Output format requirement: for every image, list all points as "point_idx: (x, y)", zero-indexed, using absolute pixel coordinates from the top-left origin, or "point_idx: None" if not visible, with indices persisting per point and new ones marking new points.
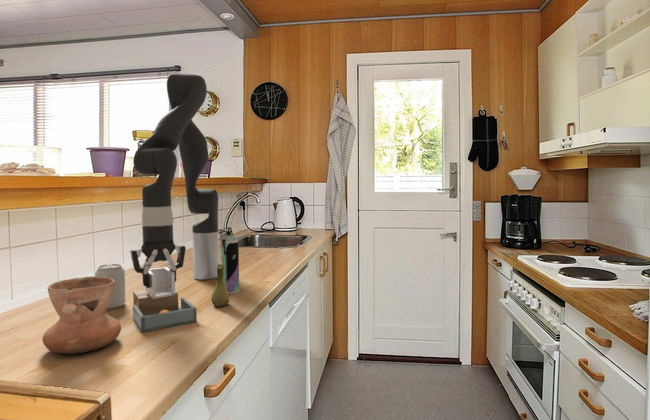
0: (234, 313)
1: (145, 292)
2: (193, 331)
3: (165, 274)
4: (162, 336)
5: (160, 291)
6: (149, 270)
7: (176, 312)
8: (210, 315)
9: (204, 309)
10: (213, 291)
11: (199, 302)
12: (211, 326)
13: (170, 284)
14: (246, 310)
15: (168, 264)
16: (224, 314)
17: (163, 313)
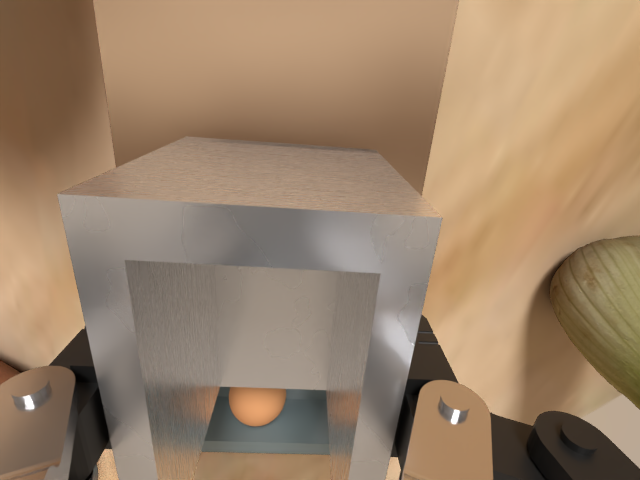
0: (541, 399)
1: (195, 91)
2: (327, 470)
3: (358, 290)
4: (227, 458)
5: (275, 300)
6: (131, 310)
7: (298, 450)
8: (458, 370)
9: (488, 283)
10: (618, 305)
11: (547, 143)
12: (395, 463)
13: (332, 410)
14: (600, 395)
15: (407, 473)
16: (506, 389)
17: (241, 446)
